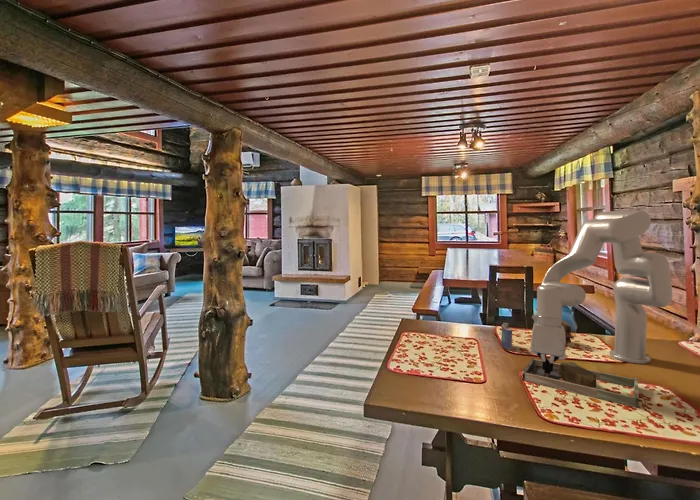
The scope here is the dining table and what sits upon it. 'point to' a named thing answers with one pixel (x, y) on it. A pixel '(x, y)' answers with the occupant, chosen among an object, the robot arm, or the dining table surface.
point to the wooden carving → (567, 332)
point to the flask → (506, 337)
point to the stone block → (577, 374)
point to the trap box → (554, 381)
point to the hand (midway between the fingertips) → (547, 372)
